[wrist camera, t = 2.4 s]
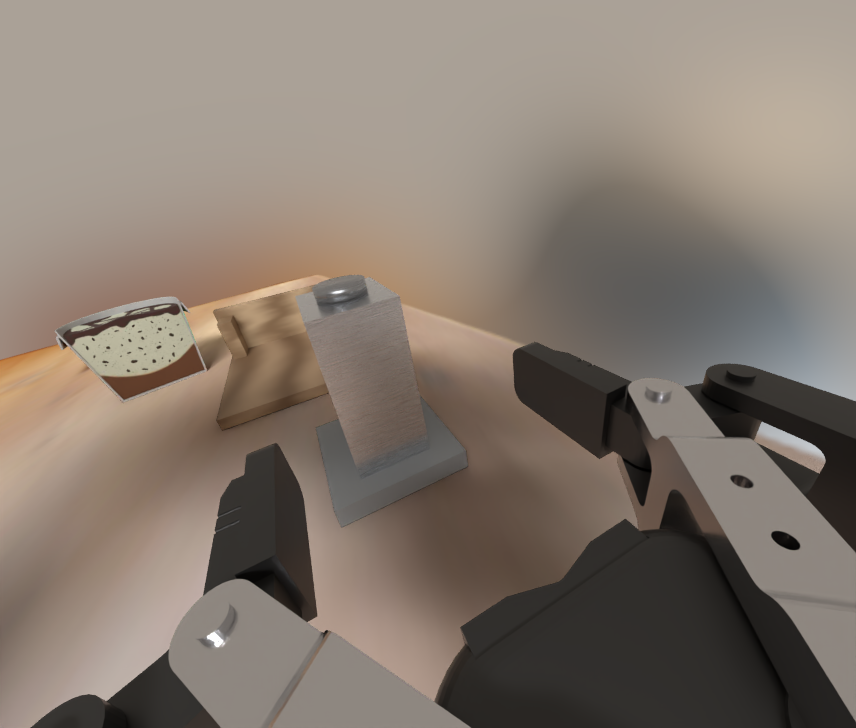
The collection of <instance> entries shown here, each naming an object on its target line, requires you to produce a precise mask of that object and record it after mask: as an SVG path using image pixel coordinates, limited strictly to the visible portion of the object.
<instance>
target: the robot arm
mask: <svg viewBox="0 0 856 728" xmlns="http://www.w3.org/2000/svg"><path fill="white" fill-rule="evenodd" d="M513 367H514V386H515V391H516V394H517V396H518V398H519V399H520V401H521V402H522V403H524V404H525V405H526V406H528V407H529V408H530V409H532V410H533V411H534V412H536V413H537V414H539V415H540V416H541V417H543V418H544V419H545V420H547V421H548V422H550V423H551V424H552V425H554V426H555V427H556V428H558V429H559V430H560V431H562V432H563V433H565V434H566V435H567V436H569V437H570V438H571V439H573V440H574V441H576V442H577V443H578V444H580V445H581V446H582V447H584V448H585V449H586V450H588V451H589V452H591V453H592V454H593V455H595V456H596V457H597V458H599V459H600V458H602V457H604V456H606V455H607V454H609V453H611V452H613V451H614V452H616V453H617V454H618V458H617V463H618V466H619V469H620V472H621V475H622V477H623V480H624V483H625V486H626V489H627V491H628V494H629V497H630V500H631V502H632V505H633V508H634V511H635V514H636V517H637V522H638V529H637V528H636V527H635V526H633V525H632V524H631V523H630V522H629V521H628V520H626V519H624V520H623V521H621V522H620V523H618V524H617V525H615V526H614V527H612V528H611V529H609V530H608V531H606V532H605V533H603V534H602V535H600V536H599V537H597V538H596V539H594V540H592V541H591V542H590V543H589V544H588V546H587V547H586V549H585V550H584V551H583V553H582V554H581V555H580V557H579V558H578V559H577V561H576V562H575V563H574V565H573V566H572V567H571V569H570V570H569V572H568V573H567V574H566V576H565V577H564V578H563V579H562V580H561V581H559V582H557V583H554V584H550V585H547V586H543V587H539V588H536V589H532V590H529V591H525V592H522V593H518V594H515V595H511V596H508V597H506V598H504V599H503V600H501V601H500V602H498V603H497V604H495V605H494V606H492V607H491V608H489V609H487V610H486V611H484V612H483V613H481V614H480V615H478V616H477V617H475V618H474V619H472V620H471V621H469V622H468V623H466V624H465V625H463V626H462V627H460V628H461V632H462V635H463V639H464V643H465V645H464V647H463V648H462V649H461V651H460V652H459V653H458V654H457V656H456V657H455V659H454V660H453V662H452V664H451V665H450V667H449V669H448V670H447V672H446V674H445V676H444V679H443V681H442V683H441V685H440V687H439V690H438V693H437V696H436V699H435V702H434V701H432V700H431V699H429V698H428V697H426V696H425V695H423V694H422V693H421V692H419V691H418V690H416V689H415V688H413V687H412V686H411V685H409V684H408V683H406V682H405V681H403V680H402V679H401V678H399V677H398V676H396V675H395V674H393V673H392V672H390V671H389V670H388V669H386V668H385V667H383V666H382V665H380V664H379V663H378V662H376V661H375V660H373V659H372V658H370V657H369V656H367V655H366V654H365V653H363V652H362V651H360V650H359V649H357V648H356V647H355V646H353V645H352V644H350V643H349V642H347V641H346V640H345V639H343V638H342V637H340V636H338V635H337V634H335V633H333V632H331V631H328V630H326V631H325V633H323V632H320V631H319V630H317V629H316V628H314V627H313V626H311V625H310V624H309V623H307V622H308V621H310V620H312V619H314V618H315V617H317V609H316V600H315V592H314V583H313V574H312V566H311V557H310V549H309V540H308V532H307V523H306V515H305V506H304V499H303V495H302V491H301V488H300V486H299V483H298V481H297V479H296V477H295V475H294V473H293V471H292V470H291V468H290V466H289V464H288V462H287V460H286V458H285V456H284V454H283V452H282V451H281V449H280V447H279V446H278V444H277V443H275V444H272V445H269V446H267V447H264V448H262V449H259V450H257V451H254V452H252V453H249V454H247V456H246V465H245V475H244V476H241V477H239V478H236V479H234V480H232V481H231V483H230V484H229V486H228V487H227V489H226V491H225V492H224V494H223V495H222V497H221V499H220V505H219V510H218V519H217V521H216V527H215V532H216V534H214V538H213V544H212V549H211V555H210V560H209V566H208V571H207V577H206V583H205V588H204V594H203V596H202V597H201V598H200V599H199V600H198V601H197V602H196V603H195V604H194V605H193V606H192V607H191V609H190V610H189V611H188V612H187V613H186V615H185V616H184V618H183V619H182V620H181V622H180V624H179V625H178V627H177V629H176V631H175V633H174V635H173V638H172V641H171V644H170V648H169V650H168V651H167V652H166V653H165V654H163V655H162V656H161V657H160V658H159V659H158V660H157V661H155V662H154V663H153V664H152V665H150V666H149V667H148V668H147V669H146V670H144V671H143V672H142V673H141V674H139V675H138V676H137V677H136V678H135V679H133V680H132V681H131V682H130V683H128V684H127V685H126V686H125V687H123V688H122V689H121V690H120V691H119V692H117V693H116V694H115V695H114V696H112V697H111V698H110V699H109V700H108V701H105V700H103V699H101V698H99V697H98V696H96V695H90V694H88V695H81V696H78V697H75V698H73V699H71V700H69V701H67V702H65V703H63V704H61V705H60V706H58V707H57V708H55V709H53V710H52V711H51V712H49V713H48V714H47V715H45V716H44V717H43V718H41V719H40V720H39V721H38V722H37V723H36V724H34V725H33V726H32V727H31V728H856V401H853V400H850V399H847V398H844V397H841V396H838V395H835V394H832V393H829V392H826V391H823V390H820V389H817V388H814V387H811V386H808V385H805V384H802V383H799V382H796V381H793V380H790V379H787V378H784V377H781V376H778V375H775V374H772V373H769V372H766V371H763V370H760V369H757V368H754V367H750V366H746V365H738V364H718V365H714V366H712V367H709V368H708V369H707V371H706V374H705V378H704V381H703V383H702V384H696V385H691V386H686V387H683V386H681V385H679V384H677V383H675V382H672V381H668V380H664V379H658V378H643V379H639V380H636V381H633V382H631V381H629V380H626V379H624V378H622V377H620V376H617V375H615V374H613V373H611V372H609V371H607V370H604V369H602V368H600V367H597V366H595V365H593V366H592V364H591V363H589V362H586V361H584V360H583V361H582V360H581V359H580V358H578V357H576V356H573V355H571V354H569V353H565V352H560V351H555V350H552V349H550V348H548V347H545V346H544V345H541V344H539V343H536V342H534V343H531V344H528V345H526V346H523V347H521V348H518V349H516V350H515V351H514V353H513ZM761 422H764V423H767V424H769V425H771V426H773V427H776V428H778V429H780V430H783V431H785V432H787V433H790V434H792V435H794V436H796V437H798V438H801V439H803V440H805V441H807V442H810V443H812V444H813V445H815V446H816V447H817V448H819V449H820V450H821V451H822V453H823V454H824V456H825V459H826V463H825V465H824V467H823V469H822V470H821V472H820V474H819V473H817V472H815V471H812V470H810V469H808V468H806V467H804V466H802V465H800V464H798V463H796V462H794V461H792V460H790V459H788V458H786V457H784V456H782V455H780V454H778V453H776V452H774V451H772V450H770V449H768V448H766V447H764V446H762V445H760V444H758V443H756V442H755V441H754V439H755V436H756V434H757V431H758V429H759V426H760V424H761Z"/></svg>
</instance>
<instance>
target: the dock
mask: <svg viewBox="0 0 856 728" xmlns="http://www.w3.org/2000/svg"><path fill="white" fill-rule="evenodd" d="M313 286H315V285H313ZM313 286H309V287H305V288H300V289H296V290H292V291H288V292H284V293H280V294H276V295H272V296H268V297H264V298H260V299H256V300H252V301H248V302H244V303H240V304H236V305H232V306H228V307H224V308H220V309H216V310H214V311H213V313H214V315H215V317H216V319H217V321H218V324H217V326H218V328H219V330H220V332H221V334H222V336H223V338H224V340H225V342H226V344H227V346H228V348H229V350H230V352H231V354H232V360H231V364H230V368H229V372H228V376H227V380H226V384H225V388H224V392H223V396H222V400H221V404H220V408H219V412H218V416H217V420H216V421H217V422H218V424H219V426H220V427H221V429H222V430H225V429H228V428H230V427H233V426H236V425H239V424H242V423H245V422H247V421H250V420H253V419H256V418H259V417H262V416H264V415H267V414H270V413H273V412H276V411H279V410H281V409H284V408H287V407H290V406H293V405H296V404H298V403H301V402H304V401H307V400H310V399H313V398H315V397H318V396H321V395H324V394H327V393H329V391H328V388H327V385H326V383H325V380H324V377H323V375H322V372H321V369H320V366H319V364H318V361H317V358H316V355H315V353H314V350H313V347H312V344H311V342H310V339H309V336H308V333H307V331H306V328H305V325H304V322H303V319H302V316H301V313H300V310H299V307H298V304H297V301H296V298H295V296H298V295H302V294H306V293H309V292H313V291H312V287H313Z"/></svg>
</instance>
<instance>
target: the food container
mask: <svg viewBox="0 0 856 728" xmlns="http://www.w3.org/2000/svg"><path fill="white" fill-rule="evenodd" d="M183 311H186V312H189V313H190V311H189V310H188V309H187V308H186V307H185V305H184V304H183V303H182V302H180V301H178V299H177V298H176V297H162V298H155V299H150V300H145V301H140V302H135V303H131V304H127V305H123V306H119V307H116V308H112V309H108V310H105V311H102V312H98V313H95V314H92V315H89V316H86V317H84V318H81V319H78V320H75V321H73V322H71V323H68V324H66V325H64V326H61V327H60V328H58V329H56V330H55V332H56V334H57V335H58V336H57V337H56V339H57V341H58V344H59V346H60V348H61V350H63V349H65V348H66V347H67V346H68V347H69V348H70V349H71V350H72V351H73V352H74V353H75V354H76V355H77V356H78V357H79V358H80V359H81V360H82V361H83V362H84V363H85V364H86V365H87V366H88V367H89V368H90V369H91V370H92V371H93V372H94V373H95V374H96V375H97V377H98V378H99V379H100V380H101V381H102V382H103V383H104V384H105V385H106V386H107V387H108V388H109V389H110V390H111V391H112V392H113V393H114V394H115V395H116V396H117V397H118V398H119V399H120V400H121V401H122V402H123V403H124V402H126V401H129V400H132V399H134V398H137V397H140V396H142V395H145V394H147V393H150V392H153V391H155V390H158V389H161V388H163V387H166V386H169V385H171V384H174V383H177V382H179V381H182V380H185V379H187V378H190V377H192V376H195V375H198V374H200V373H203V372H206V371H207V368H206V366H205V363H204V361H203V359H202V356H201V354H200V351H199V349H198V346H197V344H196V341H195V339H194V336H193V334H192V332H191V329H190V327H189V324H188V322H187V319H186V317H185V314H184V312H183Z"/></svg>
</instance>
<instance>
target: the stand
mask: <svg viewBox="0 0 856 728" xmlns="http://www.w3.org/2000/svg"><path fill="white" fill-rule="evenodd" d="M419 396H420V395H419ZM420 401H421V406H422V411H423V416H424V421H425V426H426V431H427V436H428V441H429V446H430V449H429V450H427V451H424V452H422V453H420V454H418V455H415V456H413V457H411V458H409V459H406V460H404V461H402V462H400V463H397V464H395V465H393V466H391V467H389V468H386V469H384V470H382V471H380V472H377V473H375V474H373V475H371V476H368V477H366V478H364V479H362V480H361V479H360V476H359V473H358V470H357V468H356V465H355V462H354V459H353V457H352V454H351V451H350V448H349V446H348V443H347V440H346V438H345V435H344V432H343V429H342V427H341V424H340V421H339V419H337V420H335V421H332V422H329V423H327V424H324V425H322V426H319V427H316V431H317V435H318V440H319V444H320V449H321V453H322V458H323V462H324V467H325V471H326V476H327V480H328V485H329V489H330V494H331V498H332V503H333V507H334V512H335V514H336V516H337V518H338V521H339V523H340V525H341V527H344V526H346V525H348V524H350V523H352V522H354V521H356V520H358V519H360V518H362V517H364V516H366V515H368V514H370V513H373V512H375V511H377V510H379V509H381V508H383V507H385V506H387V505H389V504H391V503H393V502H395V501H397V500H399V499H401V498H404V497H406V496H408V495H410V494H412V493H414V492H416V491H418V490H420V489H422V488H424V487H426V486H428V485H430V484H433V483H435V482H437V481H439V480H441V479H443V478H445V477H447V476H449V475H451V474H453V473H455V472H457V471H459V470H461V469H464V468H466V467H468V462H467V454H466V450H465V449H464V447H463V446H462V445H461V444H460V443H459V441H458V440H457V439H456V438H455V437H454V435H453V434H452V433H451V432H450V431H449V429H448V428H447V427H446V426H445V425H444V423H443V422H442V421H441V420H440V419H439V417H438V416H437V415H436V414H435V413H434V411H433V410H432V409H431V408H430V407H429V405H428V404H427V403H426V402H425V401H424V399H423V398H422V397H421V396H420Z"/></svg>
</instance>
